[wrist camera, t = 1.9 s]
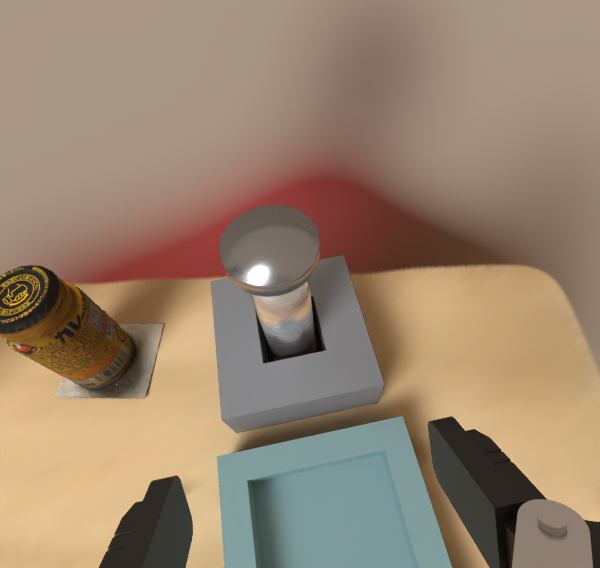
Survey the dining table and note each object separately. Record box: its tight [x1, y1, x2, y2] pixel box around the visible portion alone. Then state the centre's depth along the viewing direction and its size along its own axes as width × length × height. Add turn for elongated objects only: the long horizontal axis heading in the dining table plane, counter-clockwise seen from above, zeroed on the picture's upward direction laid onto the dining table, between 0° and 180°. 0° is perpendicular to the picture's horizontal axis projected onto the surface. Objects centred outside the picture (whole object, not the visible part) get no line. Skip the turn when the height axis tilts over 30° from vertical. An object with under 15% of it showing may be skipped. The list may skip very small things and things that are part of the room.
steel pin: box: [219, 205, 320, 361], centre depth 28 cm, size 6×6×16 cm
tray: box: [217, 416, 452, 568], centre depth 26 cm, size 14×14×3 cm
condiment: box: [0, 266, 164, 398], centre depth 31 cm, size 7×8×12 cm
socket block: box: [211, 255, 384, 433], centre depth 33 cm, size 12×12×5 cm
